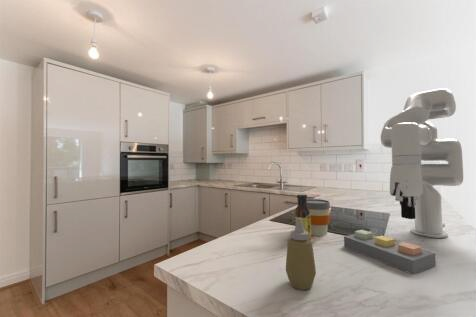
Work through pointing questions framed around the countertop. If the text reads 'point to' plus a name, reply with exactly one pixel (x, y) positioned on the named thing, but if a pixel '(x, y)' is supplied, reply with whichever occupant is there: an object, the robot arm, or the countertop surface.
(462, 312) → the countertop surface
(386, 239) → the ochre key
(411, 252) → the terracotta key
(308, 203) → the reusable coffee cup
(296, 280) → the squeeze bottle
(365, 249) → the console
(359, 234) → the sage key
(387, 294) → the countertop surface
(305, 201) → the sauce bottle
